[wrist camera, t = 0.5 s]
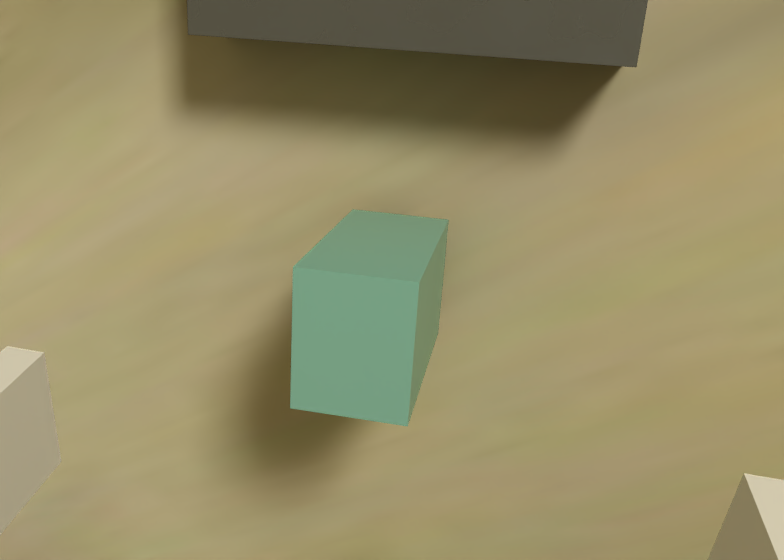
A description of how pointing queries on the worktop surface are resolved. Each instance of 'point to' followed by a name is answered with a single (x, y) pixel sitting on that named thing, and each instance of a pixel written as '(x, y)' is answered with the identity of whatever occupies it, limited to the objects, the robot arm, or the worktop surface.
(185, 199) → the worktop surface
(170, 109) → the worktop surface
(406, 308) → the plug
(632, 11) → the socket
